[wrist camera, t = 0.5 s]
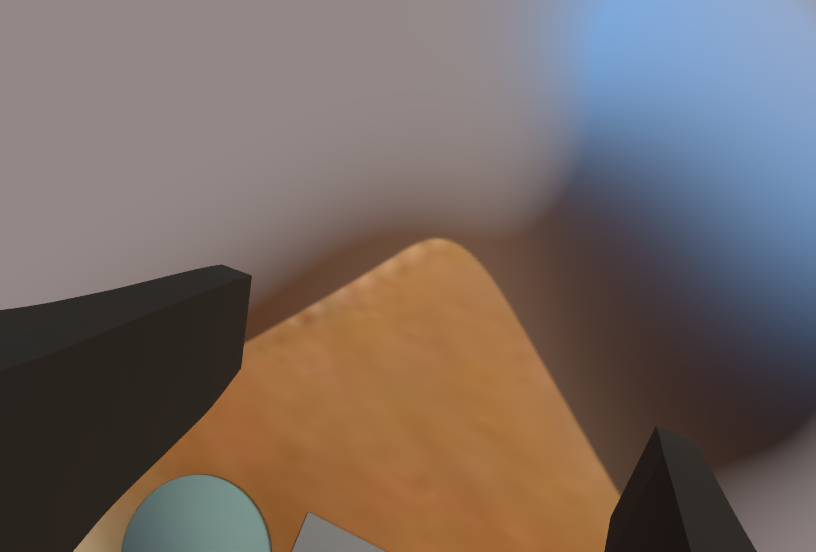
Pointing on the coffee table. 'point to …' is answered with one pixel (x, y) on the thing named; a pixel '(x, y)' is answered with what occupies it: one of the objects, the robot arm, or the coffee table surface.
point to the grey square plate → (329, 538)
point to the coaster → (197, 519)
